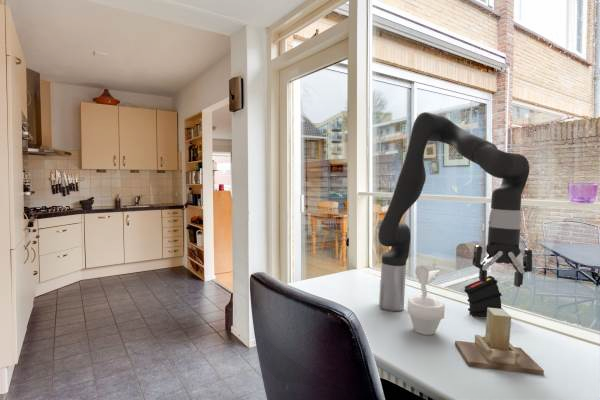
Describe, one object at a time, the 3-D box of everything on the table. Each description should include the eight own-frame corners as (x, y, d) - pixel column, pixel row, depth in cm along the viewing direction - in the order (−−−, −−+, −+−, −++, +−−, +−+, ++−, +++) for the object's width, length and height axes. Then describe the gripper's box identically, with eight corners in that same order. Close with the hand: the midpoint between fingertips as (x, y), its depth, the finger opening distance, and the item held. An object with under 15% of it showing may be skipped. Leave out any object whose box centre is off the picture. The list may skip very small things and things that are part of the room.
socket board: (468, 365, 91) (469, 350, 91) (454, 344, 104) (455, 330, 104) (543, 375, 88) (544, 358, 88) (520, 351, 101) (521, 337, 101)
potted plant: (425, 341, 105) (430, 260, 104) (398, 327, 116) (402, 252, 115) (454, 335, 111) (458, 257, 110) (425, 322, 121) (429, 251, 121)
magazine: (510, 314, 128) (496, 277, 128) (478, 328, 128) (463, 291, 127) (504, 310, 132) (490, 275, 131) (473, 324, 132) (458, 288, 131)
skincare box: (483, 348, 99) (486, 306, 99) (500, 351, 98) (503, 308, 98) (491, 359, 93) (493, 314, 93) (508, 361, 92) (511, 316, 92)
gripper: (481, 225, 92) (477, 286, 93) (539, 229, 90) (535, 291, 91) (472, 223, 100) (468, 278, 101) (526, 226, 97) (522, 283, 98)
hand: (500, 284), depth 96 cm, fingers open, 8 cm apart
